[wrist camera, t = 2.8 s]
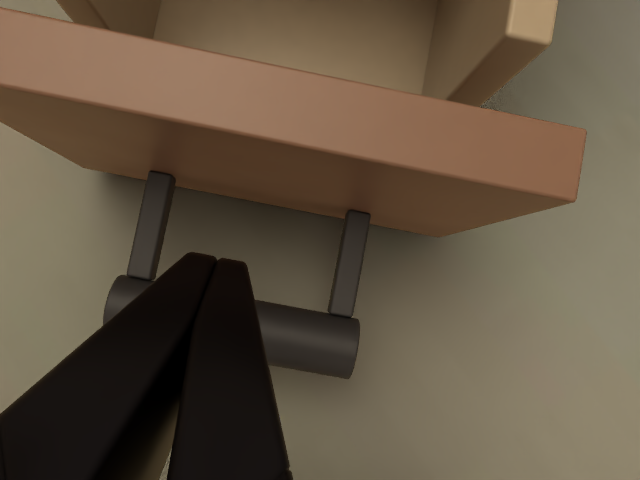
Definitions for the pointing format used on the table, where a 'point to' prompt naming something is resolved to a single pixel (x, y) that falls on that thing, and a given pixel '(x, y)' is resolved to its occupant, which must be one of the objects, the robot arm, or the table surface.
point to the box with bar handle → (296, 123)
